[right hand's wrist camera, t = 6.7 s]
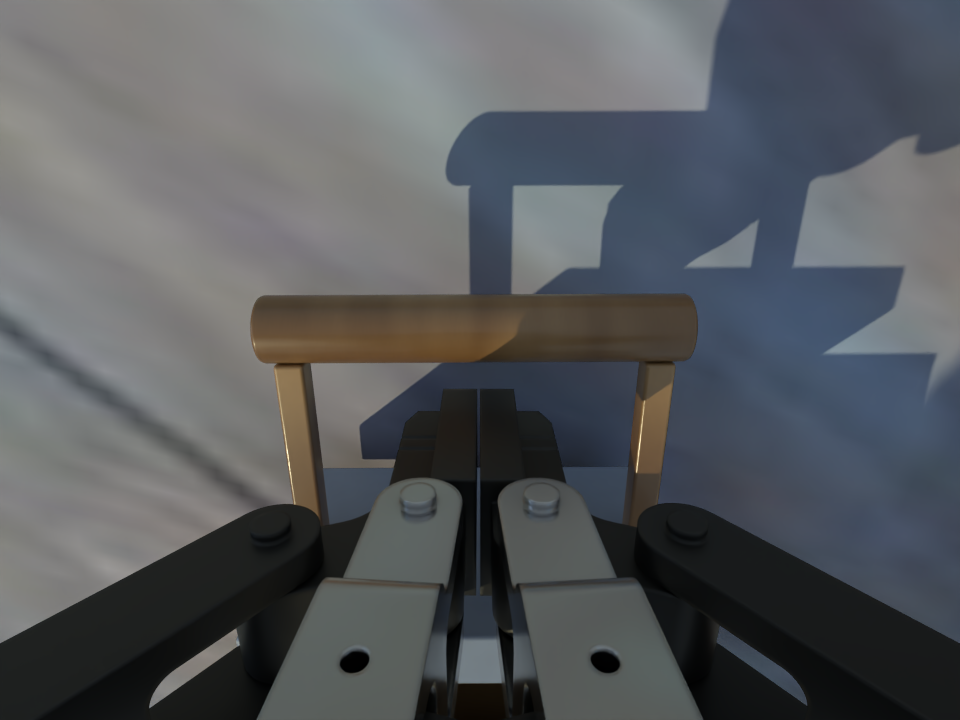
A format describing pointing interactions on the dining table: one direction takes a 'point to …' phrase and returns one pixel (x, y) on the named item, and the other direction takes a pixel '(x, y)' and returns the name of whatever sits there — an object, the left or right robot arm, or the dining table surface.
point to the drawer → (474, 338)
